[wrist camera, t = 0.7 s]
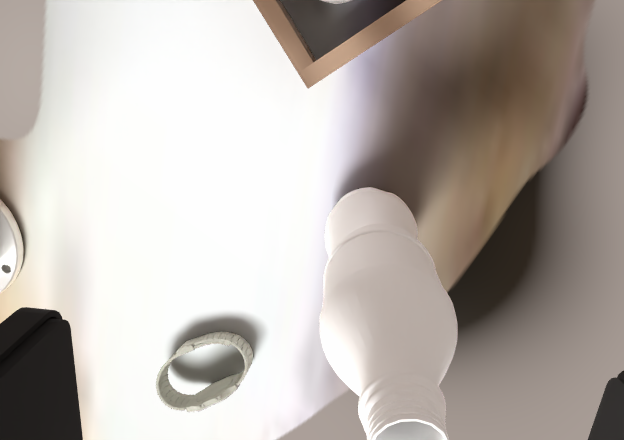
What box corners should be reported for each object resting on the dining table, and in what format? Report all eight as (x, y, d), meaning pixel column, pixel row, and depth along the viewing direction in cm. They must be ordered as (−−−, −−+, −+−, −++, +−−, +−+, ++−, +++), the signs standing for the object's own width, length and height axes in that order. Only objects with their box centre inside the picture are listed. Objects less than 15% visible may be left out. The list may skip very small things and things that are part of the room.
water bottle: (308, 213, 41) (271, 432, 18) (378, 162, 40) (438, 332, 16) (358, 274, 43) (385, 549, 20) (427, 228, 41) (547, 469, 18)
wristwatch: (187, 398, 49) (170, 435, 44) (152, 349, 47) (131, 383, 42) (266, 365, 47) (259, 400, 42) (233, 313, 45) (221, 344, 40)
